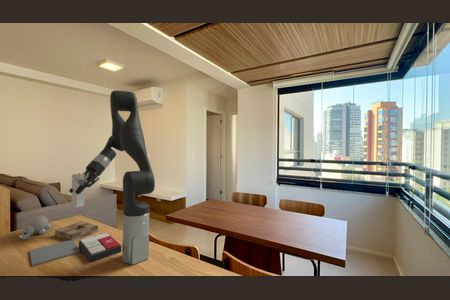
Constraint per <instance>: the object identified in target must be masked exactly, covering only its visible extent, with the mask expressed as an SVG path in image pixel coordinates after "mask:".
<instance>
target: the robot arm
mask: <svg viewBox="0 0 450 300" xmlns="http://www.w3.org/2000/svg"><path fill="white" fill-rule="evenodd" d="M109 102H110V115H111V122H112V123H111V125H112V126H111V135H110V136H109V138H108V140H107V142H106V144H105V145H104V148H103V149H102V150H101V151H100V153H98V155H96V156H95V157H94V158H93V159H91V161H90V163H88V164H87V165H86V166H85V171H84V172H82V173H81V175H85V179H84V182H83V183H82V184H81V185H82V186H81V185H80V187H79V188H78V189H77V190H76V191H75V193H76V194H80V193H81V192H82V191H83V190H84V189H87V188H91V187H92V186H93V185H94V184H96V183H97V182H98V181H99V180H100V176H101V175H102V174H103V172H104V171H105V170H106V169H107V168H108V167H109V166H110V163H111V162H112V161H113V160H114V159H115V157H116V156H117V152H116V151H115V150H117V151H119V152H125V153H127V154H128V156H129V157H130V158H131V159H132V160H133V162H135V163H136V165H137V167H138V168H139V170H132V171H126V172H124V175H123V177H122V207H123V209H122V245H121V253H122V255H121V260H122V262H123V263H125V264H130V265H131V266H132V265H136V264H138V263H141V262H144V261H147V260H149V257H150V256H149V253H150V252H149V251H150V250H149V249H150V205H149V204H148V203H147V202H143V201H138V200H136V198H135V196H143V195H149V194H151V193H153V192H154V191H155V188H156V182H155V174H154V172H153V169H152V166H151V163H150V160H149V156H148V153H147V148H146V147H147V146H146V141H145V137H144V132H143V129H142V124H141V119H140V115H139V106H138V98H137V96H136V94H135V93H134V92H133V91H128V90H112V91H111V93H110V97H109ZM119 112H129V113H130V114H129V115H128V118H127V119H126V120H125V119H124V118H123V117H122V116H121V115H120V113H119ZM114 149H115V150H114ZM68 192H70V193H71V194H72V187H71V188H69V190H68Z"/></svg>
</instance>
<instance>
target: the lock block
mask: <svg viewBox="0 0 450 300" xmlns="http://www.w3.org/2000/svg"><path fill="white" fill-rule="evenodd" d="M97 232H99V225H98V224H94V223H91V222H87V221H86V222H85V221H79V222H75V223H72V224H69V225H66V226H63V227H59V228H57V229H54V237H56V238H60V239H62V240H65V241H68V240H74V242H76V241H78V240H81V239H84V237H87V236H90V235H92V234H95V233H97Z"/></svg>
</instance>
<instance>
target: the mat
mask: <svg viewBox="0 0 450 300" xmlns="http://www.w3.org/2000/svg"><path fill="white" fill-rule="evenodd" d="M28 253H29V257H30V262H31V267H32V268H33V267H35V266H39V265H43V264H45V263H48V262H53V261H56V260H59V259H63V258H68V257H70V256H73V255H77V254H81V253H82V252H81V251H80V249H79V245H77V243H76V241H74V240H65V241H60V242H57V243H53V244H49V245H45V246H44V245H43V246H40V247H36V248H33V249H29V252H28Z"/></svg>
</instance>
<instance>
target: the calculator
mask: <svg viewBox="0 0 450 300" xmlns="http://www.w3.org/2000/svg"><path fill="white" fill-rule="evenodd" d="M78 248H79V249H80V251H81V253H82V254H83V256H84V257H85V259H87V262H89V263H94V262H97V261H100V260H102V259H105V258H109V257H111V256H113V255H117V254H119V253H122V245H121V244H120V243H119V242H118V241H117V240H116V239H115V238H114V237H113V236H112V235H111V234H109V233H108V232H105V233H100V234H97V235H94V236H90V237H86V238H81V239H79V241H78Z"/></svg>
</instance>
